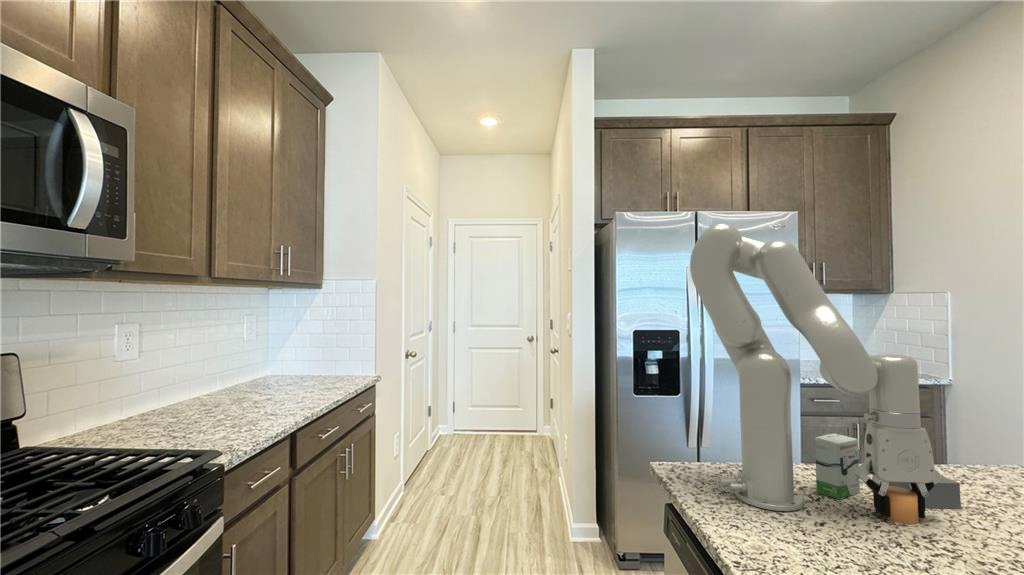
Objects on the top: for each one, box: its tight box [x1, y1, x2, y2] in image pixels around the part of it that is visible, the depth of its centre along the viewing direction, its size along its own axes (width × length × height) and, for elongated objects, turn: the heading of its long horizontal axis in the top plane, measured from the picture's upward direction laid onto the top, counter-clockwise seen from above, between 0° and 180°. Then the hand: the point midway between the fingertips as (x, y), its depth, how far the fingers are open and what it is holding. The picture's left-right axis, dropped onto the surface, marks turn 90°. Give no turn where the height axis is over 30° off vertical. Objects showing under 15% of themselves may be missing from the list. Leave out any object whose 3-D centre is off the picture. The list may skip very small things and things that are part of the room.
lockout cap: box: [881, 485, 920, 526], centre depth 87 cm, size 6×6×5 cm
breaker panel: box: [888, 475, 962, 510], centre depth 95 cm, size 8×8×6 cm
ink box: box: [814, 433, 861, 500], centre depth 100 cm, size 9×5×12 cm, turn 117°
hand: (899, 513), depth 87 cm, fingers closed on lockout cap, 5 cm apart
